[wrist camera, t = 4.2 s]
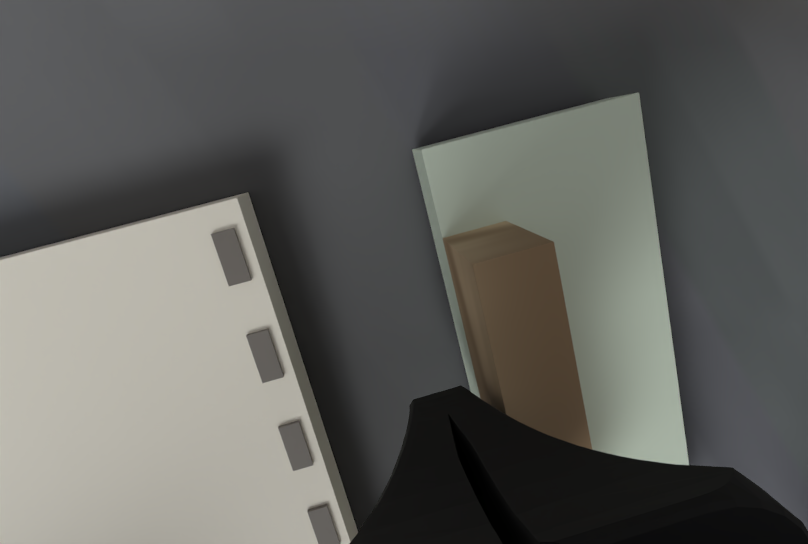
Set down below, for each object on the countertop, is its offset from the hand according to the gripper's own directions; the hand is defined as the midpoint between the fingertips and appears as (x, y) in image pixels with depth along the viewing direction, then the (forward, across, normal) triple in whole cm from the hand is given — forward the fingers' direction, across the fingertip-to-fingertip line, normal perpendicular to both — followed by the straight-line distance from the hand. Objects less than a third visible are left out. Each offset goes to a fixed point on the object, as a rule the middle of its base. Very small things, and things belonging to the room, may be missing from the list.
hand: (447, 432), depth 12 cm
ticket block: (+3, +7, 0) cm, 8 cm away
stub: (+3, -4, 0) cm, 4 cm away
